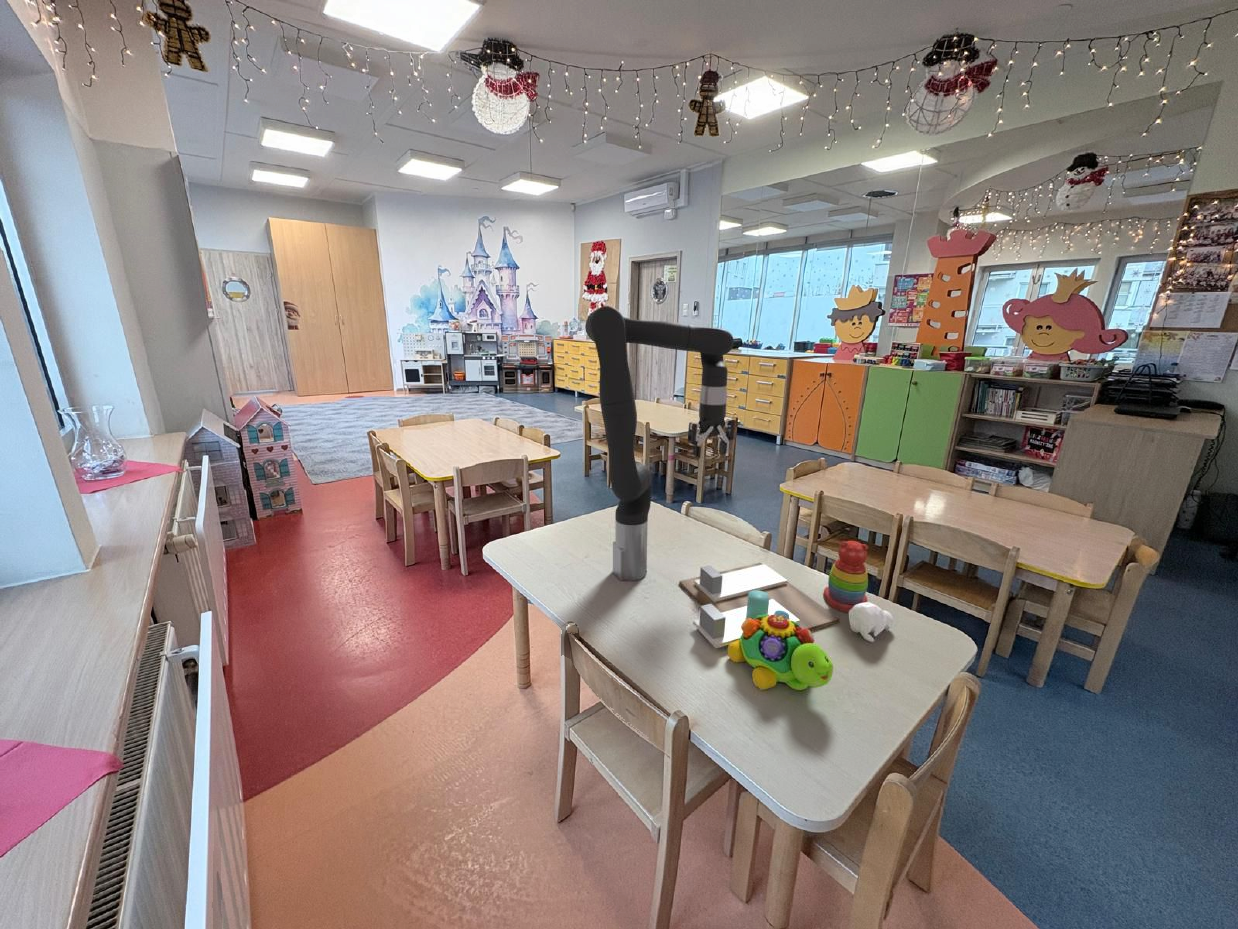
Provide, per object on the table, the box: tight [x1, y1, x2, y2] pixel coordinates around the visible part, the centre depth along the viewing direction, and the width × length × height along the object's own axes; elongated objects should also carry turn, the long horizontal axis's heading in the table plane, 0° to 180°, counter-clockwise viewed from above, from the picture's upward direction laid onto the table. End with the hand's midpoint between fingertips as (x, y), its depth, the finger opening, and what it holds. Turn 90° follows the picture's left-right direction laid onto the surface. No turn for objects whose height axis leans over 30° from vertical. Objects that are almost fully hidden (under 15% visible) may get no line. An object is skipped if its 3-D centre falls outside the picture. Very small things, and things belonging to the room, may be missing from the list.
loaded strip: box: [692, 599, 800, 649], centre depth 121 cm, size 24×10×6 cm, turn 113°
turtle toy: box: [727, 610, 834, 691], centre depth 106 cm, size 17×23×12 cm
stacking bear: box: [823, 540, 869, 613], centre depth 130 cm, size 11×10×18 cm
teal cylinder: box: [746, 590, 770, 619], centre depth 122 cm, size 5×5×6 cm
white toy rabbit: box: [848, 601, 894, 643], centre depth 120 cm, size 6×8×12 cm
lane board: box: [678, 562, 841, 632], centre depth 133 cm, size 28×31×1 cm
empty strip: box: [694, 563, 788, 602], centre depth 139 cm, size 24×10×6 cm, turn 113°
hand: (709, 456), depth 147 cm, fingers open, 8 cm apart
